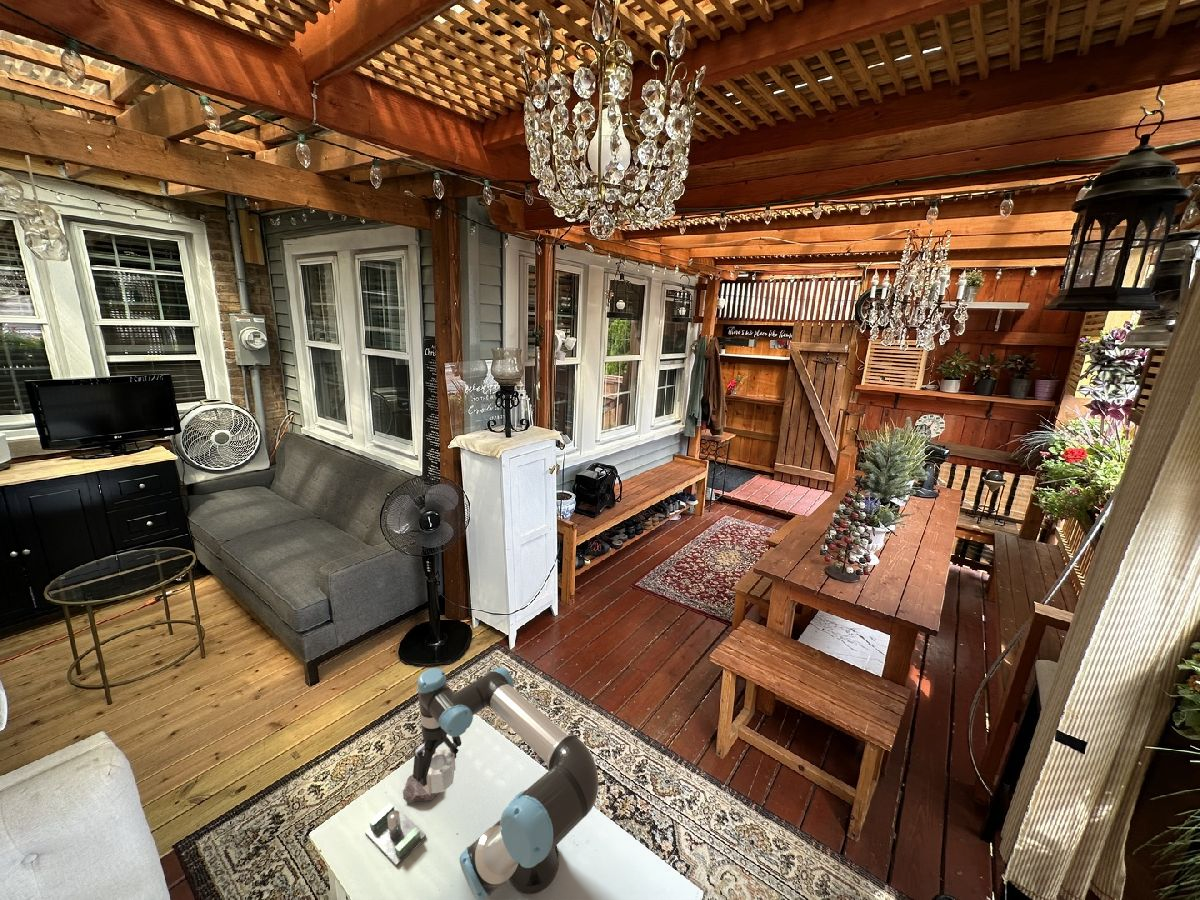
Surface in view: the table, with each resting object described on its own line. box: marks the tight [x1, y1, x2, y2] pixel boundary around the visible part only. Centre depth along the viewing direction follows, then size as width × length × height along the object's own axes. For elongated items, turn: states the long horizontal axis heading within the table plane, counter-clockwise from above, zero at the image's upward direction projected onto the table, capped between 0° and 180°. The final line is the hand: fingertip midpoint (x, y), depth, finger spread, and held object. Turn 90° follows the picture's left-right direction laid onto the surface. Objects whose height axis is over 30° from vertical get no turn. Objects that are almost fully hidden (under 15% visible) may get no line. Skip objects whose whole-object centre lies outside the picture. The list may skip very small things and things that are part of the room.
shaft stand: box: [364, 802, 427, 868], centre depth 143 cm, size 16×10×8 cm, turn 56°
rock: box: [402, 773, 439, 804], centre depth 157 cm, size 8×11×5 cm
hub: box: [428, 749, 455, 794], centre depth 141 cm, size 8×8×7 cm
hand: (439, 779), depth 142 cm, fingers closed on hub, 8 cm apart
